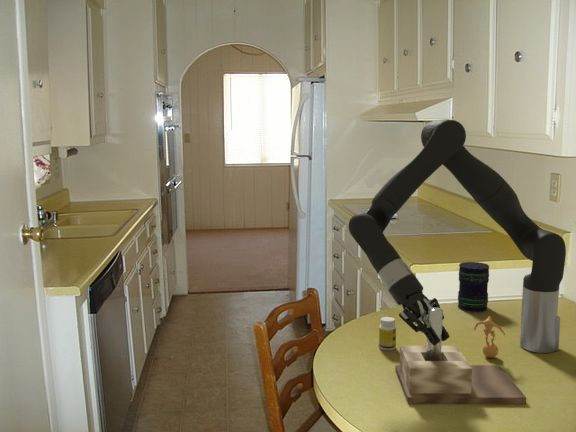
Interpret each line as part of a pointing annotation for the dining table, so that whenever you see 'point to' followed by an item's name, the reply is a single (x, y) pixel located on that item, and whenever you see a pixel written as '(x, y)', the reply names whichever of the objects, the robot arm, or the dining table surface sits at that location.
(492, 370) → the walnut board
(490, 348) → the figurine
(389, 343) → the supplement bottle
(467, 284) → the storage jar
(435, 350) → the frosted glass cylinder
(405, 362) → the beech bead block
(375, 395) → the dining table surface
